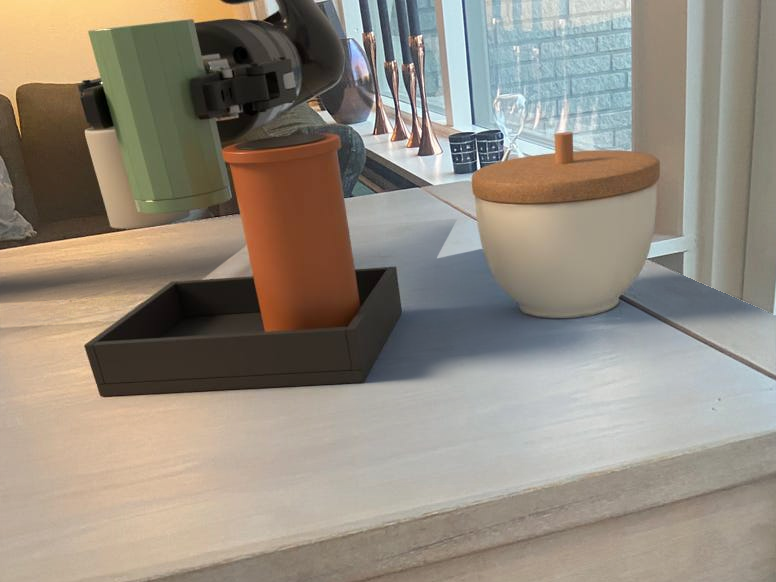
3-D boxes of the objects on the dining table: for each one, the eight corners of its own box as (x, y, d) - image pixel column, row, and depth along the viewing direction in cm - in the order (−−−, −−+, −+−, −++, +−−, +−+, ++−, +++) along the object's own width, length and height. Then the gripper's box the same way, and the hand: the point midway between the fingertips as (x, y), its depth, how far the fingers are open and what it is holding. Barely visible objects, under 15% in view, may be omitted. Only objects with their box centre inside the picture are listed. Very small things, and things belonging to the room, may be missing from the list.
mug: (191, 240, 101) (163, 124, 95) (109, 250, 101) (75, 134, 94) (200, 220, 111) (175, 113, 105) (126, 229, 110) (96, 122, 104)
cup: (122, 217, 61) (70, 32, 55) (157, 198, 66) (113, 27, 60) (215, 209, 60) (171, 21, 55) (243, 191, 65) (206, 17, 60)
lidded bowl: (591, 272, 76) (588, 116, 70) (694, 302, 67) (701, 125, 61) (452, 305, 72) (435, 141, 65) (541, 342, 62) (532, 155, 56)
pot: (251, 364, 61) (204, 154, 54) (280, 331, 67) (241, 137, 60) (358, 358, 60) (325, 144, 53) (378, 325, 66) (350, 128, 59)
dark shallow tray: (99, 396, 61) (83, 345, 59) (182, 326, 73) (170, 281, 71) (363, 382, 59) (355, 328, 57) (402, 312, 71) (396, 266, 69)
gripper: (122, 29, 70) (12, 44, 57) (312, 9, 68) (245, 19, 55) (151, 143, 74) (55, 182, 61) (331, 127, 73) (273, 163, 59)
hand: (146, 104), depth 58 cm, fingers closed on cup, 6 cm apart
